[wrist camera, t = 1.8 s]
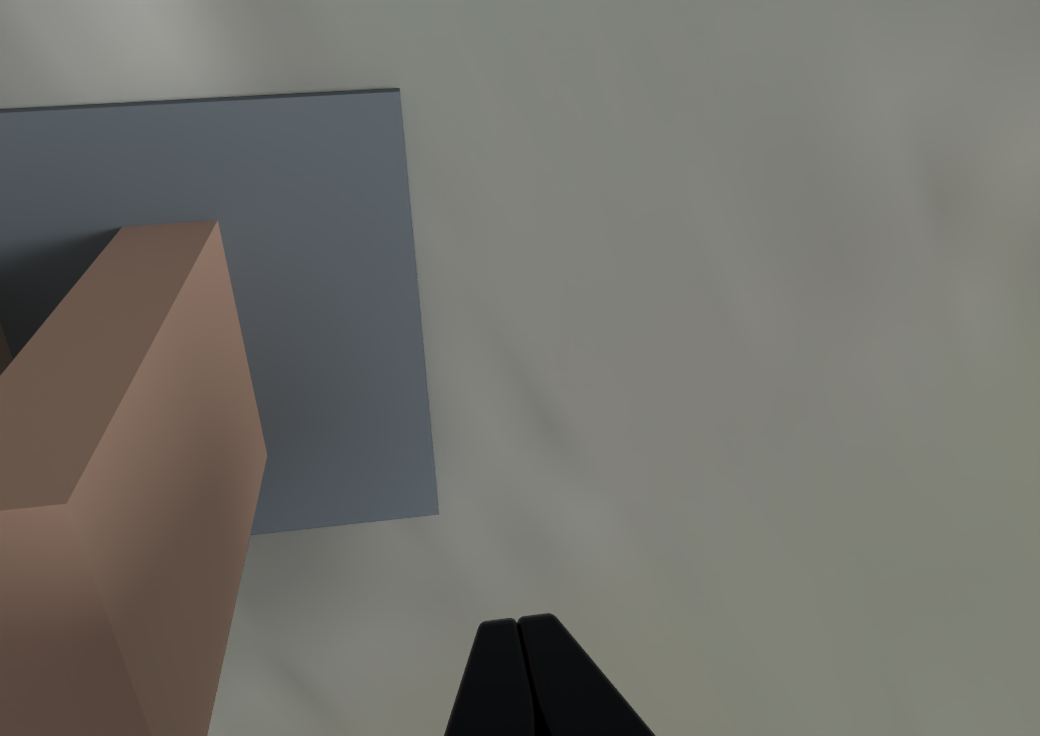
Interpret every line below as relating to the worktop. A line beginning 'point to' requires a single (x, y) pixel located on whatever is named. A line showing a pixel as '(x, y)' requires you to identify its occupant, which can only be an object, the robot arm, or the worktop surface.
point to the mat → (255, 269)
